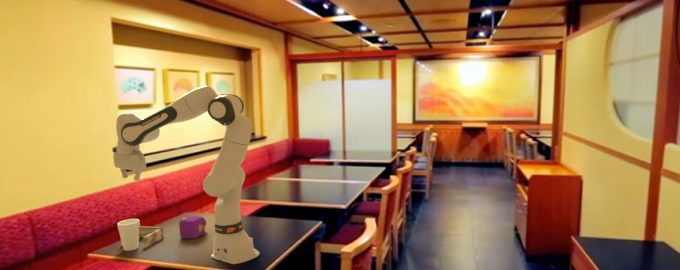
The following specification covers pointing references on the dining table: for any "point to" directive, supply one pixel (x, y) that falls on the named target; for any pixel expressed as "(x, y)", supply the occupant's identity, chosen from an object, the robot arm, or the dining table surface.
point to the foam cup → (129, 233)
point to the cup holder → (150, 235)
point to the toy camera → (192, 227)
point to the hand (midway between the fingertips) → (131, 179)
